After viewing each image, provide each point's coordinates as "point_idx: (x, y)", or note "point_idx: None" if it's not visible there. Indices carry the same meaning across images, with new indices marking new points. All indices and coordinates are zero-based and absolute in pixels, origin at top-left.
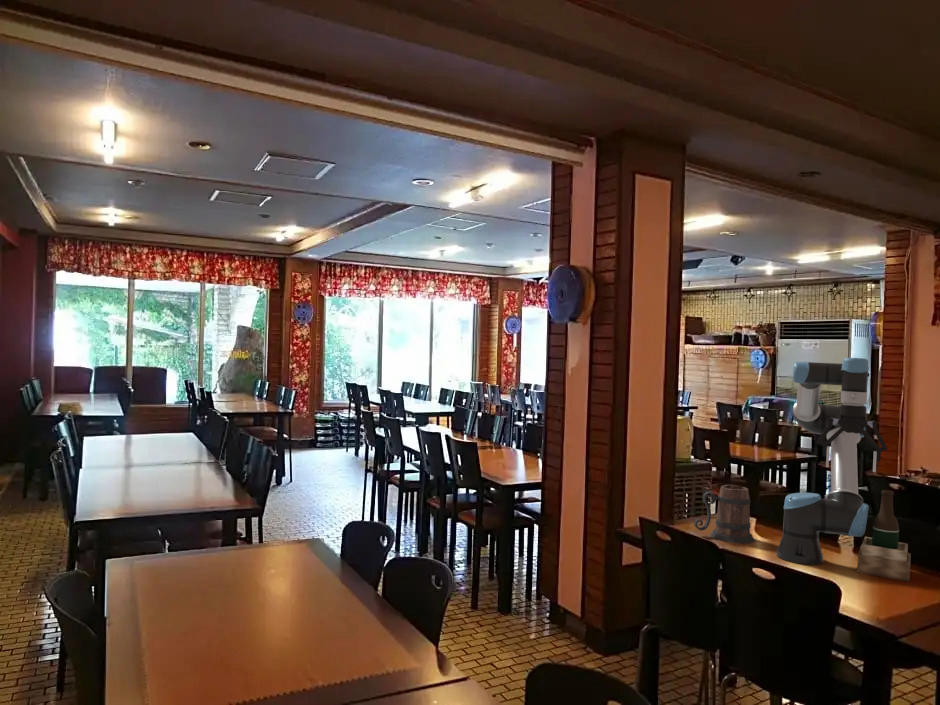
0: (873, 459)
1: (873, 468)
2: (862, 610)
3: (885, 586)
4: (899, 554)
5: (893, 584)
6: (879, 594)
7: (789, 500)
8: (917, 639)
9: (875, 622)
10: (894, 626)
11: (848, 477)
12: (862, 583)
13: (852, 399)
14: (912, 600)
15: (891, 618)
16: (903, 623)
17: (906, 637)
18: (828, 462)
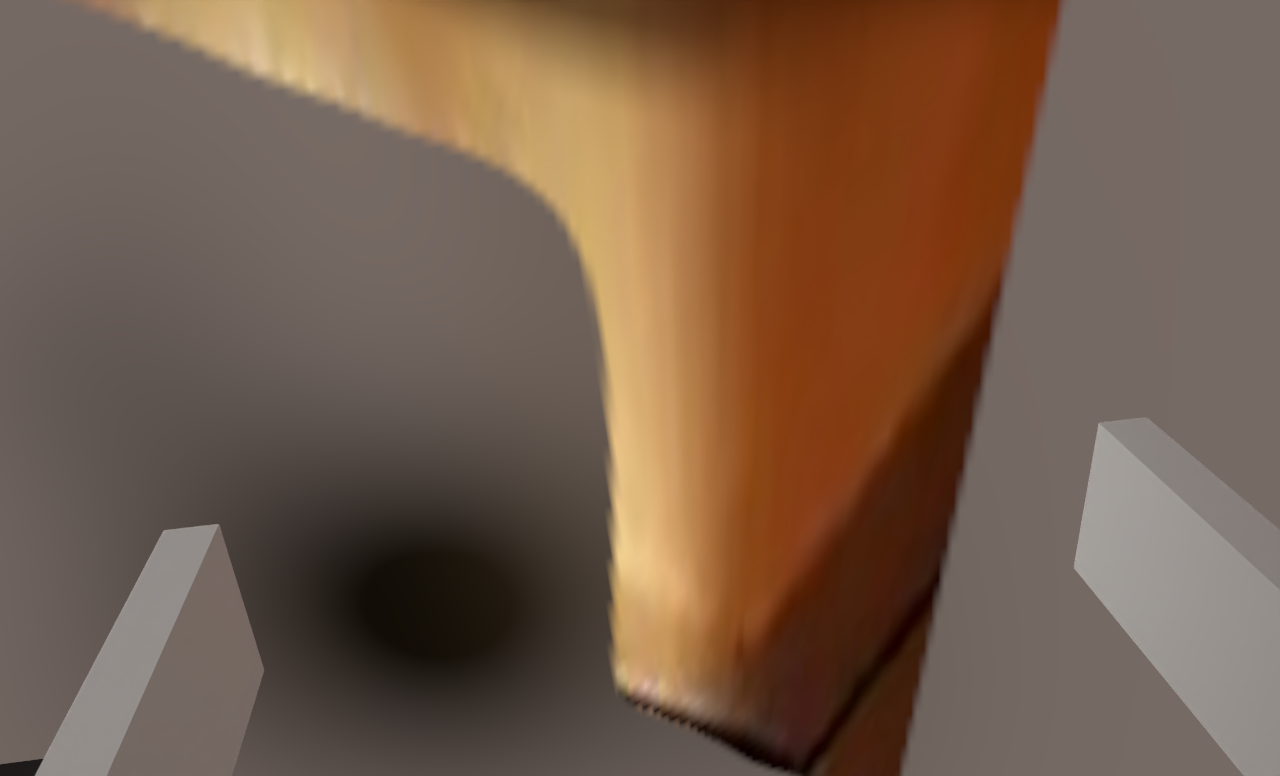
0: (1255, 643)
1: (1115, 612)
2: (681, 597)
3: (798, 96)
4: None
5: (849, 3)
6: (758, 297)
7: None
8: (862, 752)
9: (731, 693)
10: (797, 687)
11: None
12: (667, 132)
13: None
14: (915, 283)
15: (792, 611)
16: (833, 635)
17: (828, 758)
18: (235, 748)
